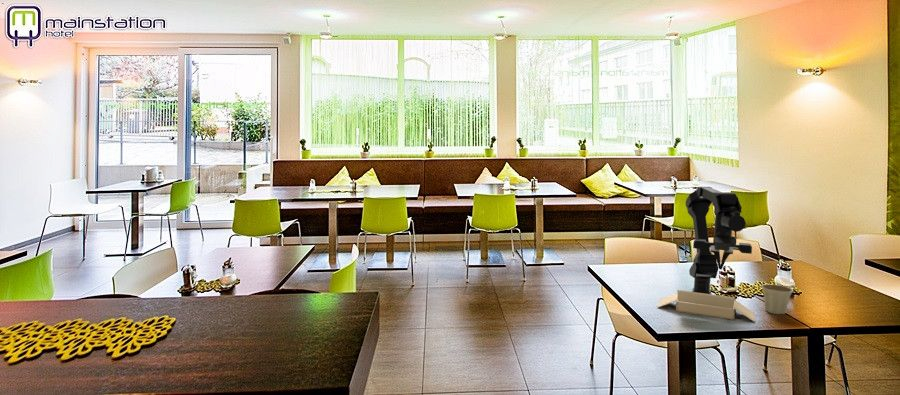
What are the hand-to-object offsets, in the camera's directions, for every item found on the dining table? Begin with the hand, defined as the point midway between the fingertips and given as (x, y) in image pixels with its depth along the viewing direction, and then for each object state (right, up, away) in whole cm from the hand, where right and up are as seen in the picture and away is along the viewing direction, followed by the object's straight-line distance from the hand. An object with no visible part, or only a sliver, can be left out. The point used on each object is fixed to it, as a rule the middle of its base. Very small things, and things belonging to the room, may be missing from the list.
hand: (720, 269), depth 191 cm
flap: (-12, -10, -13) cm, 20 cm away
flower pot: (+16, -14, -7) cm, 22 cm away
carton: (-8, -13, -5) cm, 16 cm away
